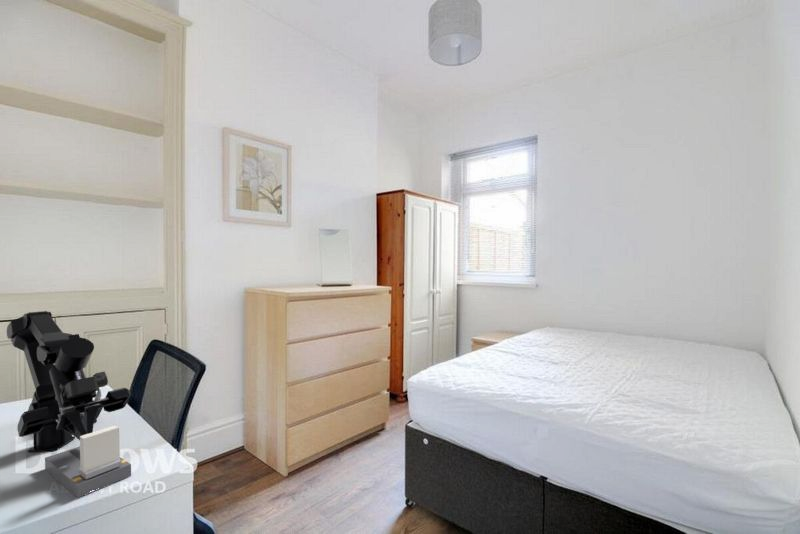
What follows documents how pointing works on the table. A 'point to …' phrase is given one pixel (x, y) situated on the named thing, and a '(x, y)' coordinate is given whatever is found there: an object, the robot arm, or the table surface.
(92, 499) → the table surface
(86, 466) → the fader
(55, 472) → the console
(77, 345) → the robot arm
